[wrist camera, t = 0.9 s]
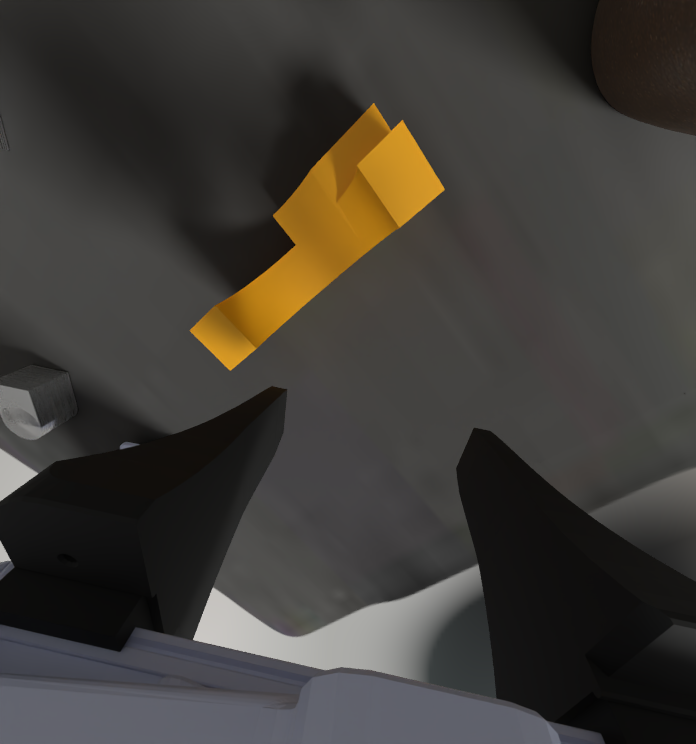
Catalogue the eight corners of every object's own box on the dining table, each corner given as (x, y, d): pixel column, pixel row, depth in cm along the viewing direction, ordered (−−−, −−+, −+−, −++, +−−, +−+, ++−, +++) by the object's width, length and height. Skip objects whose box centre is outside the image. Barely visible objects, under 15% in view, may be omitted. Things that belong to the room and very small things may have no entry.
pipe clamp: (376, 125, 15) (370, 67, 10) (424, 201, 17) (444, 189, 11) (226, 278, 20) (159, 300, 14) (273, 329, 21) (230, 370, 15)
